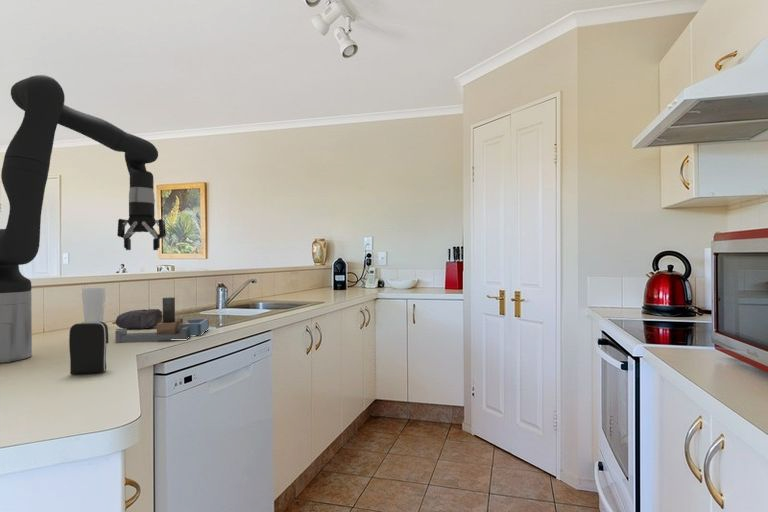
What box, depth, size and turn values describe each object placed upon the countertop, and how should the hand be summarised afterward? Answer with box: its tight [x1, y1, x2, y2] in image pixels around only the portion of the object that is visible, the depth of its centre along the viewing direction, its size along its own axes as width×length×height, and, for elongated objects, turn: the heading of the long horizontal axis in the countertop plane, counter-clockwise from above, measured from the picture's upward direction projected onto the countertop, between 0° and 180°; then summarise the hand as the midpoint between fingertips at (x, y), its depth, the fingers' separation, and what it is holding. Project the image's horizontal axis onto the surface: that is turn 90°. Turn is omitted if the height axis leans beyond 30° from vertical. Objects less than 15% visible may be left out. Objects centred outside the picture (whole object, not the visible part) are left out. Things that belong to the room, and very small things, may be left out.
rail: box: [114, 327, 191, 344], centre depth 132 cm, size 4×20×4 cm, turn 99°
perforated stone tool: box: [114, 308, 163, 330], centre depth 153 cm, size 15×5×7 cm, turn 98°
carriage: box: [156, 297, 184, 334], centre depth 137 cm, size 16×5×13 cm, turn 9°
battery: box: [68, 321, 109, 375], centre depth 96 cm, size 7×4×11 cm, turn 102°
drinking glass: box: [81, 286, 106, 322], centre depth 151 cm, size 7×7×15 cm
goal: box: [179, 318, 210, 336], centre depth 143 cm, size 11×7×4 cm, turn 9°
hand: (142, 250), depth 143 cm, fingers open, 8 cm apart
